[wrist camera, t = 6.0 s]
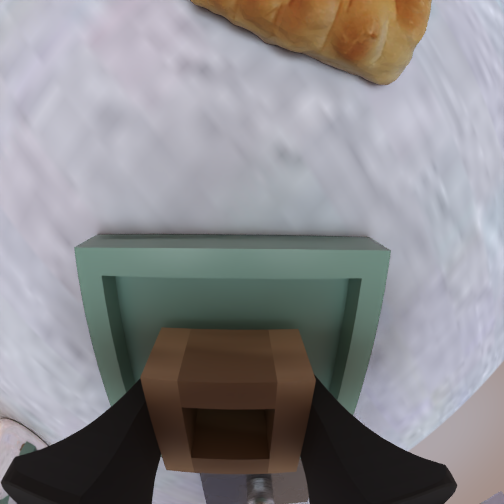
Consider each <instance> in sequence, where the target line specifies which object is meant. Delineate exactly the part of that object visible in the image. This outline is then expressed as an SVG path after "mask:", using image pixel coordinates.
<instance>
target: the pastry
mask: <svg viewBox="0 0 504 504" xmlns="http://www.w3.org/2000/svg"><path fill="white" fill-rule="evenodd" d="M190 1H191V2H193V3H194V4H195V5H198V6H201V7H204V8H207V9H208V10H210V11H211V12H213V13H215V14H219V15H222V16H224V17H225V18H227V19H228V20H229V21H230V22H231V23H233V24H234V25H237V26H240V27H243V28H245V29H247V30H249V31H251V32H253V33H254V34H255V35H257V36H258V37H259V38H261V39H262V40H263V41H264V42H265V43H268V44H273V45H278V46H280V47H282V48H285V49H288V50H290V51H293V52H300V53H303V54H305V55H308V56H310V57H312V58H314V59H317V60H318V61H320V62H322V63H324V64H327V65H330V66H333V67H335V68H338V69H341V70H344V71H346V72H348V73H350V74H354V75H359V76H361V77H363V78H364V79H366V80H369V81H371V82H373V83H376V84H379V85H388V84H390V83H392V82H393V81H395V80H396V79H397V78H398V77H399V76H400V74H401V73H402V72H403V70H404V69H405V67H406V66H407V65H408V64H409V62H410V60H411V58H412V55H413V51H414V49H415V47H416V45H417V44H418V43H419V41H420V40H421V39H422V37H423V35H424V33H425V31H426V27H427V22H428V19H429V15H430V10H431V1H432V0H190Z"/></svg>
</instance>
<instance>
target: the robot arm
mask: <svg viewBox="0 0 504 504" xmlns="http://www.w3.org/2000/svg"><path fill="white" fill-rule="evenodd" d="M314 376H315V379H316V382H315V388H314V393H313V398H312V404H311V409H310V414H309V418H308V423H307V428H306V433H305V437H304V442H303V446H302V450H301V455H300V458H301V461H302V465H303V469H304V472H305V476H306V481H307V487H308V494H309V501H310V504H444V503H445V502H446V501H447V500H448V499H449V498H450V497H451V496H452V495H453V493H454V492H455V490H456V488H457V484H456V482H455V480H454V478H453V476H452V474H451V473H450V471H449V470H448V468H447V467H446V465H443V464H440V463H437V462H433V461H431V460H427V459H424V458H421V457H419V456H416V455H414V454H412V453H410V452H407V451H405V450H403V449H401V448H399V447H397V446H396V445H394V444H392V443H390V442H388V441H387V440H385V439H383V438H382V437H380V436H379V435H377V434H376V433H374V432H373V431H371V430H370V429H369V428H367V427H366V426H365V425H363V424H362V423H361V422H360V421H358V420H357V419H356V418H355V417H354V416H353V415H352V414H351V413H349V412H348V411H347V410H346V409H345V408H344V407H343V406H342V405H341V404H340V403H339V402H338V401H337V400H336V398H335V397H334V396H333V395H332V394H331V393H330V392H329V391H328V390H327V389H326V387H325V386H324V385H323V384H322V383H321V381H320V380H319V379H318V378H317V377H316V375H315V374H314ZM160 457H161V452H160V449H159V446H158V442H157V439H156V436H155V432H154V429H153V425H152V422H151V418H150V415H149V411H148V407H147V403H146V399H145V395H144V391H143V387H142V383H141V379H139V380H138V381H137V382H136V383H135V384H134V385H133V386H132V387H131V388H130V389H129V390H128V391H127V392H126V393H125V394H124V395H123V396H122V397H121V398H120V399H119V400H118V401H117V402H116V403H115V404H114V405H113V406H111V407H110V408H109V409H108V410H107V411H106V412H105V413H103V414H102V415H101V416H100V417H98V418H97V419H96V420H94V421H93V422H92V423H90V424H89V425H87V426H86V427H84V428H83V429H81V430H80V431H78V432H76V433H74V434H72V435H71V436H69V437H67V438H65V439H63V440H61V441H59V442H57V443H55V444H53V445H50V446H48V447H45V448H43V449H40V450H37V451H34V452H31V453H27V454H24V455H20V456H16V457H14V459H13V461H12V462H11V464H10V466H9V468H8V469H7V471H6V473H5V475H4V477H3V478H2V480H1V485H2V487H3V489H4V490H5V492H6V493H7V494H8V495H9V496H10V497H11V498H12V499H13V500H14V501H15V502H16V503H17V504H152V496H153V488H154V481H155V476H156V472H157V468H158V464H159V461H160ZM481 504H504V494H503V493H502V492H498V493H497V494H495V495H494V496H492V497H490V498H489V499H487V500H485V501H484V502H482V503H481Z"/></svg>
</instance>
